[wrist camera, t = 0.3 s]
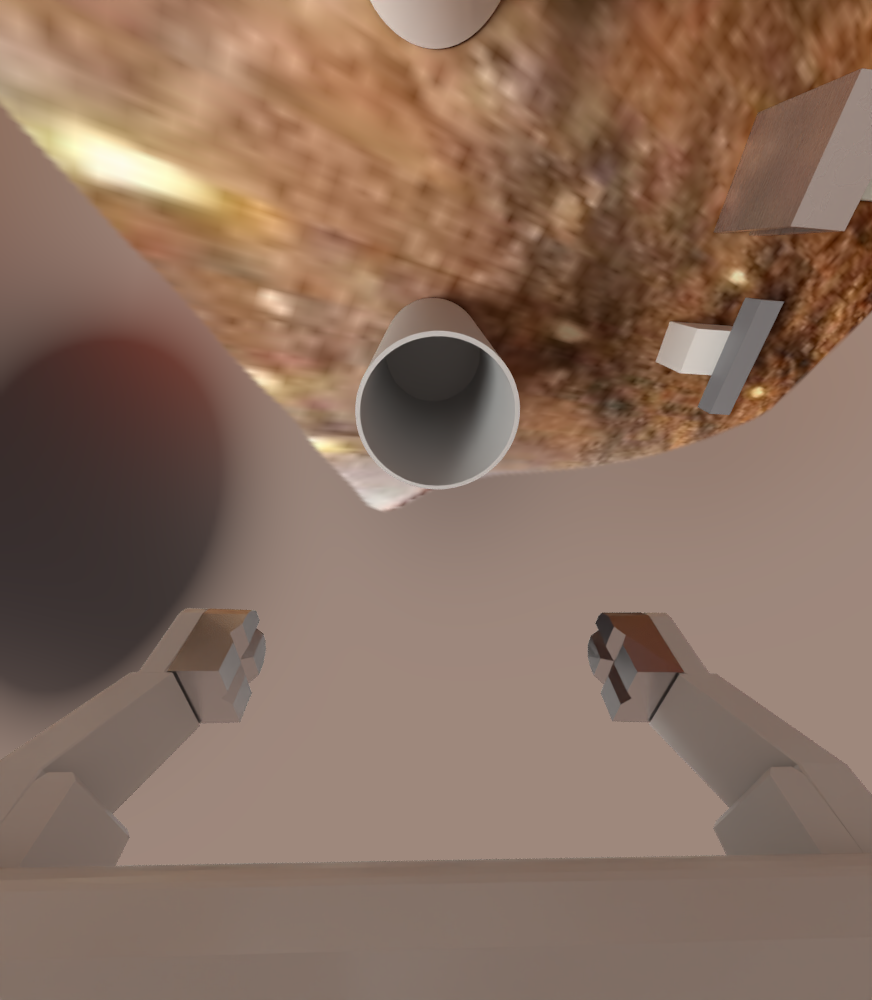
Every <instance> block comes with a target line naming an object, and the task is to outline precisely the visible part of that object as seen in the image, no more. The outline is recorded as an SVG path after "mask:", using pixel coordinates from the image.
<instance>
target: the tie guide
mask: <svg viewBox="0 0 872 1000" xmlns="http://www.w3.org/2000/svg"><path fill="white" fill-rule="evenodd" d="M871 178H872V70H870V69H859V70H857V71H855V72H852V73H850V74H848V75H845V76H843V77H841V78H838V79H836V80H834V81H831V82H829V83H827V84H824V85H822V86H820V87H817V88H815V89H813V90H810V91H808V92H806V93H803V94H801V95H799V96H796V97H794V98H792V99H789V100H787V101H785V102H782V103H780V104H778V105H775V106H773V107H771V108H768V109H766V110H764V111H761V112H759V113H758V114H757V117H756V119H755V122H754V125H753V128H752V130H751V133H750V136H749V138H748V141H747V144H746V147H745V149H744V152H743V155H742V157H741V160H740V163H739V166H738V168H737V171H736V174H735V176H734V179H733V182H732V185H731V187H730V190H729V193H728V195H727V198H726V201H725V204H724V206H723V209H722V212H721V214H720V217H719V220H718V223H717V225H716V228H715V231H714V232H716V233H729V232H743V231H750V233H749V235H750V236H767V235H785V234H802V233H820V232H837V231H845V229H846V227H847V225H848V223H849V221H850V219H851V217H852V215H853V213H854V211H855V209H856V207H857V205H858V204H859V202H860V200H861V198H862V196H863V194H864V192H865V190H866V188H867V186H868V184H869V182H870V180H871Z"/></svg>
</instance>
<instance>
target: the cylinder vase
mask: <svg viewBox="0 0 872 1000" xmlns="http://www.w3.org/2000/svg"><path fill="white" fill-rule="evenodd" d="M355 414H356V423H357V428H358V432H359V435H360V438H361V441H362V443H363V445H364V447H365V449H366V450H367V452H368V454H369V455H370V456H371V458H372V459H373V460H374V461H375V462H376V464H377V465H378V466H379V467H380V468H382V469H383V470H384V471H385V472H386V473H388V474H389V475H391V476H392V477H394V478H396V479H397V480H399V481H402V482H404V483H406V484H409V485H412V486H416V487H420V488H426V489H448V488H453V487H458V486H461V485H464V484H467V483H470V482H472V481H474V480H476V479H478V478H480V477H482V476H483V475H485V474H486V473H487V472H489V471H490V470H491V469H492V468H493V467H495V466H496V465H497V464H498V463H499V461H500V460H501V459H502V458H503V457H504V455H505V454H506V452H507V451H508V449H509V448H510V446H511V444H512V442H513V440H514V437H515V434H516V431H517V428H518V423H519V416H520V402H519V395H518V391H517V387H516V384H515V381H514V379H513V377H512V375H511V373H510V371H509V369H508V368H507V366H506V365H505V363H504V362H503V361H502V359H501V358H500V356H499V355H498V354H497V352H496V351H495V350H494V348H493V347H492V345H491V344H490V343H489V341H488V340H487V339H486V337H485V336H484V335H483V333H482V332H481V330H480V329H479V328H478V326H477V325H476V324H475V322H474V321H473V319H472V318H471V317H470V316H469V314H468V313H467V312H466V311H465V310H464V309H462V308H461V307H460V306H458V305H457V304H455V303H453V302H451V301H448V300H445V299H440V298H425V299H421V300H417V301H415V302H413V303H411V304H409V305H407V306H406V307H404V308H403V309H402V310H401V311H400V312H399V313H398V314H397V315H396V316H395V317H394V319H393V320H392V322H391V324H390V325H389V327H388V329H387V331H386V333H385V335H384V337H383V339H382V341H381V343H380V345H379V347H378V349H377V351H376V353H375V355H374V357H373V359H372V361H371V363H370V365H369V367H368V369H367V371H366V373H365V375H364V377H363V379H362V381H361V383H360V386H359V389H358V393H357V398H356V408H355Z"/></svg>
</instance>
